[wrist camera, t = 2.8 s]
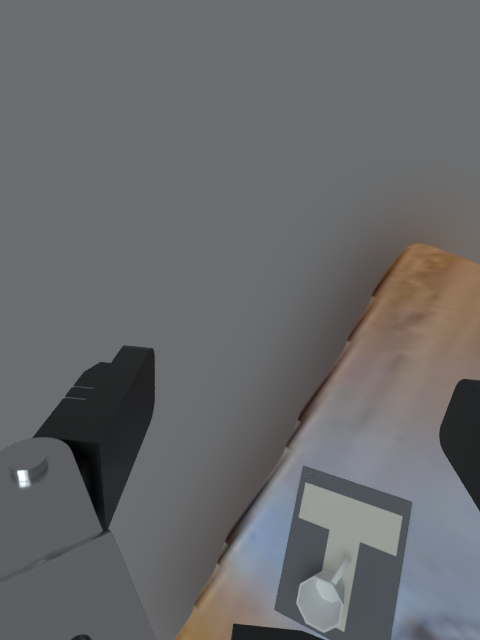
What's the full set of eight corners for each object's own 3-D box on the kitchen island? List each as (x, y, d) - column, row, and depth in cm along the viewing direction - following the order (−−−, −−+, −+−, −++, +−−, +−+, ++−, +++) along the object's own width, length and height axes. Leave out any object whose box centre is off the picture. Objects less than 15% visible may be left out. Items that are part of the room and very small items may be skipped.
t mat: (385, 668, 57) (385, 669, 57) (274, 609, 65) (274, 609, 65) (412, 501, 60) (412, 502, 60) (303, 465, 69) (303, 466, 69)
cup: (302, 583, 64) (286, 603, 57) (335, 534, 64) (323, 548, 57) (337, 619, 61) (325, 645, 54) (372, 568, 60) (365, 587, 53)
